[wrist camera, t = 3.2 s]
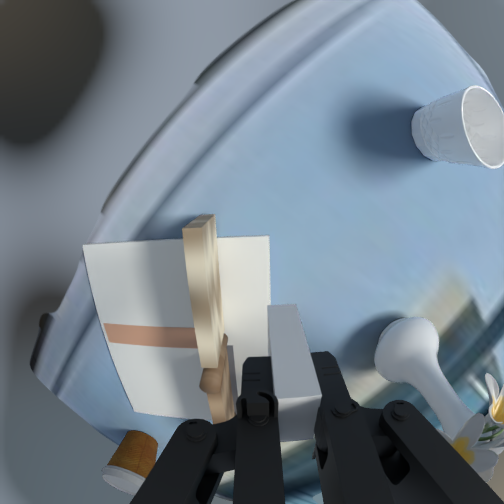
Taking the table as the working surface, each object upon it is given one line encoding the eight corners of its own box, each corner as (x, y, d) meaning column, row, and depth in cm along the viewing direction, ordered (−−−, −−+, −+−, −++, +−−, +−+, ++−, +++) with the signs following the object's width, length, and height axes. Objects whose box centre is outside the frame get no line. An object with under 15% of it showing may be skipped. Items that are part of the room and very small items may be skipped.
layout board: (270, 417, 36) (270, 420, 35) (135, 409, 36) (134, 411, 35) (268, 234, 28) (269, 236, 27) (84, 243, 28) (82, 245, 28)
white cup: (462, 138, 24) (516, 135, 14) (435, 179, 26) (492, 186, 16) (425, 90, 23) (477, 71, 13) (394, 129, 25) (449, 116, 15)
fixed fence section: (237, 418, 35) (234, 462, 27) (223, 418, 35) (218, 462, 27) (227, 331, 31) (219, 379, 22) (210, 331, 31) (197, 379, 22)
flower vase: (435, 361, 33) (512, 469, 9) (331, 377, 33) (380, 541, 9) (460, 287, 30) (579, 384, 6) (348, 292, 30) (468, 482, 6)
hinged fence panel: (224, 329, 30) (217, 368, 23) (211, 329, 30) (201, 367, 23) (215, 214, 27) (201, 227, 20) (200, 214, 27) (182, 228, 20)
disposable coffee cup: (141, 453, 41) (126, 496, 29) (110, 426, 38) (89, 471, 27) (176, 450, 39) (164, 499, 28) (143, 422, 37) (124, 474, 26)
